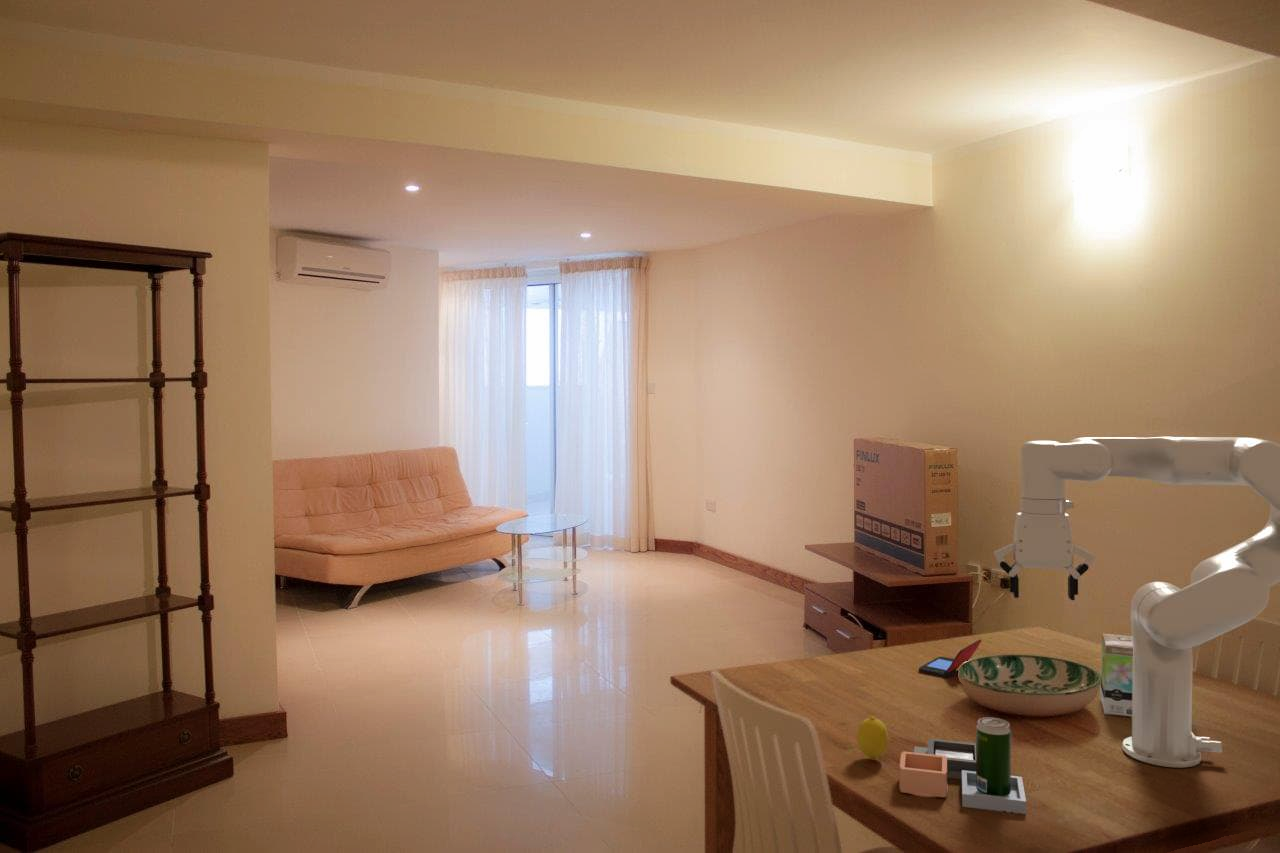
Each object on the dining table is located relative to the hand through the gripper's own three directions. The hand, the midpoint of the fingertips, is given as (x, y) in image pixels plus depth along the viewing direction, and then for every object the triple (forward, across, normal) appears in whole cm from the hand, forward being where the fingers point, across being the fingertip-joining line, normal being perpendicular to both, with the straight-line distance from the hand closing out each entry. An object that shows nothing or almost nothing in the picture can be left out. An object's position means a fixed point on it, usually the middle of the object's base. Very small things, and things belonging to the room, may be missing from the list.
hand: (1043, 597), depth 175 cm
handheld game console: (+28, +16, -42) cm, 53 cm away
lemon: (+28, +31, +15) cm, 44 cm away
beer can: (+28, +11, +26) cm, 39 cm away
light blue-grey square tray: (+28, +11, +26) cm, 40 cm away
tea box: (+29, -21, -23) cm, 42 cm away
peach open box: (+28, +22, +25) cm, 43 cm away
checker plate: (+27, +17, +15) cm, 35 cm away
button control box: (+28, +17, +15) cm, 36 cm away
